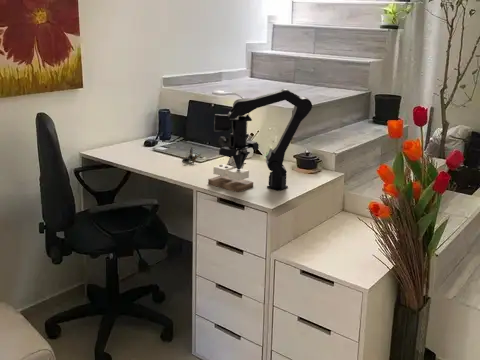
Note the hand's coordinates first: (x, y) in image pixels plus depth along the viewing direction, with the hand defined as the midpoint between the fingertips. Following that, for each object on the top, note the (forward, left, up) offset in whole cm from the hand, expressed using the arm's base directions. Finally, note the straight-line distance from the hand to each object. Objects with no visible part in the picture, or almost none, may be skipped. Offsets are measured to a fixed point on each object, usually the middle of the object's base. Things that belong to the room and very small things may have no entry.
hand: (238, 169), depth 235 cm
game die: (+14, -15, -8) cm, 22 cm away
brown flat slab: (+4, 0, -8) cm, 9 cm away
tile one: (0, 0, -4) cm, 4 cm away
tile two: (+8, 0, -4) cm, 9 cm away
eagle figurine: (+42, -15, -8) cm, 45 cm away
